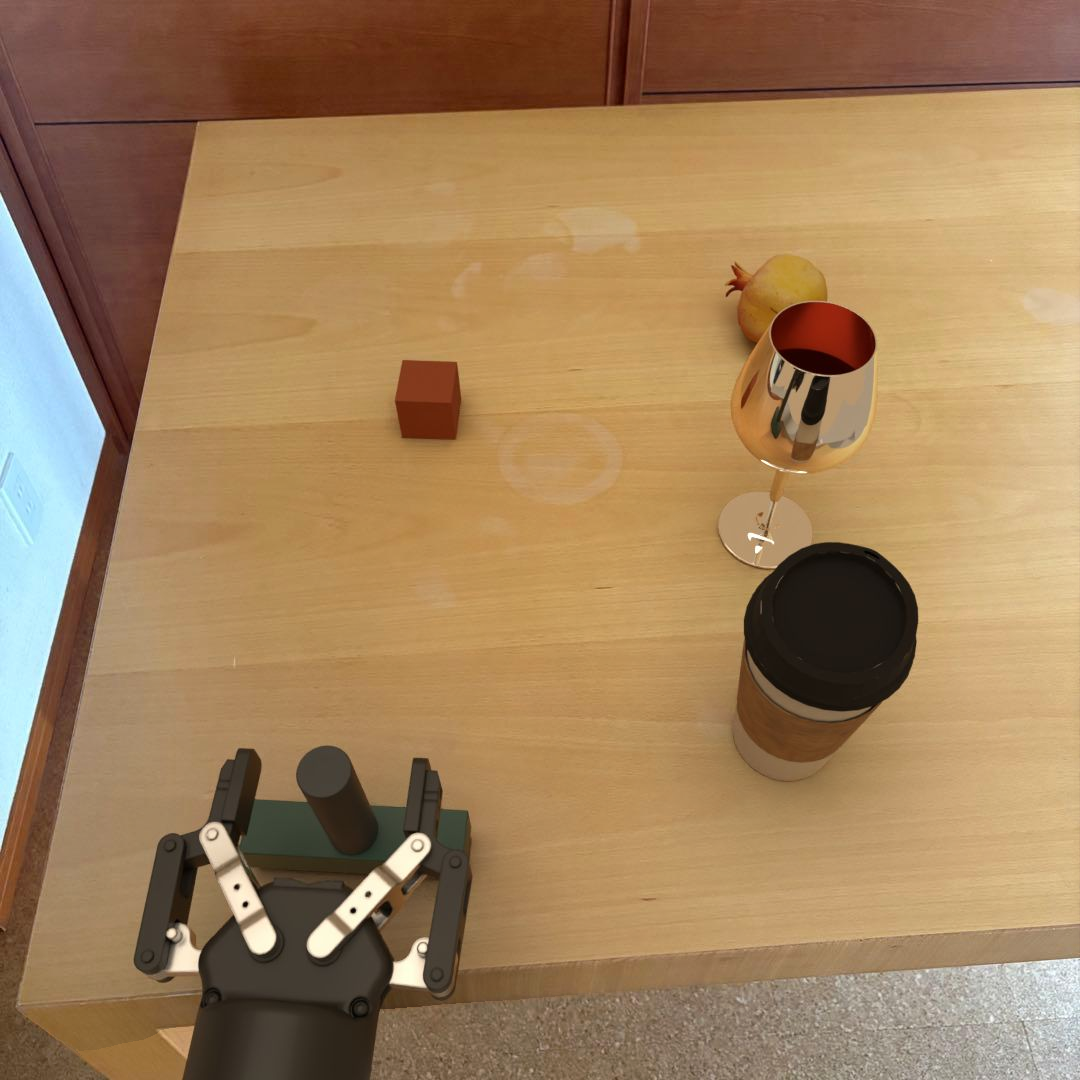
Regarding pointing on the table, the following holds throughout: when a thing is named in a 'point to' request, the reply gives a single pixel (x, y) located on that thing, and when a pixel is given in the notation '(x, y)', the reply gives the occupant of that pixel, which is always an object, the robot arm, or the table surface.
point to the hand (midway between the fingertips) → (336, 758)
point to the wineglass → (798, 419)
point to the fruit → (774, 291)
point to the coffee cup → (820, 655)
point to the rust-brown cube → (428, 399)
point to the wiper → (335, 823)
